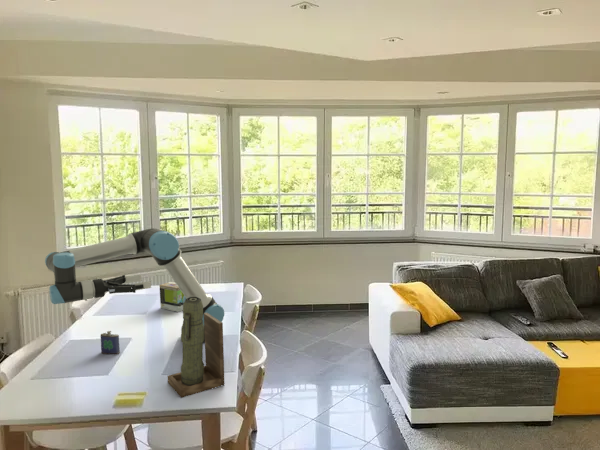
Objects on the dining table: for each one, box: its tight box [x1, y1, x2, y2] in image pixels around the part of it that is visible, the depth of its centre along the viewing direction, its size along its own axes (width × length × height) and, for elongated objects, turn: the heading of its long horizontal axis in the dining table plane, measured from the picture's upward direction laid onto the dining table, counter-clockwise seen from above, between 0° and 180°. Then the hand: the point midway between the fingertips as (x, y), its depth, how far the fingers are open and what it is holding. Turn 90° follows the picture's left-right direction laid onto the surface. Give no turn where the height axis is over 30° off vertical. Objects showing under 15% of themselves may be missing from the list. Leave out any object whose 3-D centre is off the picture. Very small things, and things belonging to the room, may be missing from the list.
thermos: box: [180, 297, 205, 386], centre depth 190 cm, size 9×12×35 cm
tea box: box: [159, 281, 184, 313], centre depth 289 cm, size 15×10×15 cm, turn 58°
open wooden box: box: [167, 313, 226, 399], centre depth 192 cm, size 18×15×26 cm
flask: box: [100, 330, 121, 355], centre depth 224 cm, size 9×3×11 cm, turn 78°
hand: (145, 281), depth 206 cm, fingers open, 13 cm apart
